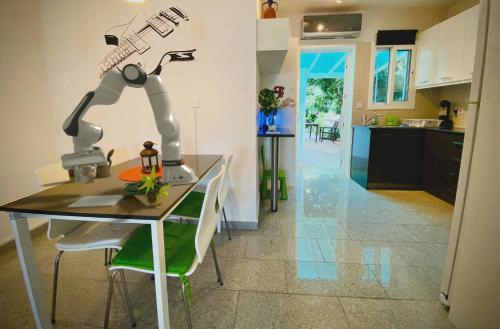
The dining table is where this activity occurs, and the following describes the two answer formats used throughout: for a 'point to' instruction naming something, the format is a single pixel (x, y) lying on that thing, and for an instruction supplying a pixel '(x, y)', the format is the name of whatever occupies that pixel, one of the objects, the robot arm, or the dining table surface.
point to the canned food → (75, 175)
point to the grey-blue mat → (97, 201)
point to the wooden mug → (105, 167)
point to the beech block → (87, 174)
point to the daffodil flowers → (147, 186)
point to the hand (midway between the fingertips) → (87, 172)
